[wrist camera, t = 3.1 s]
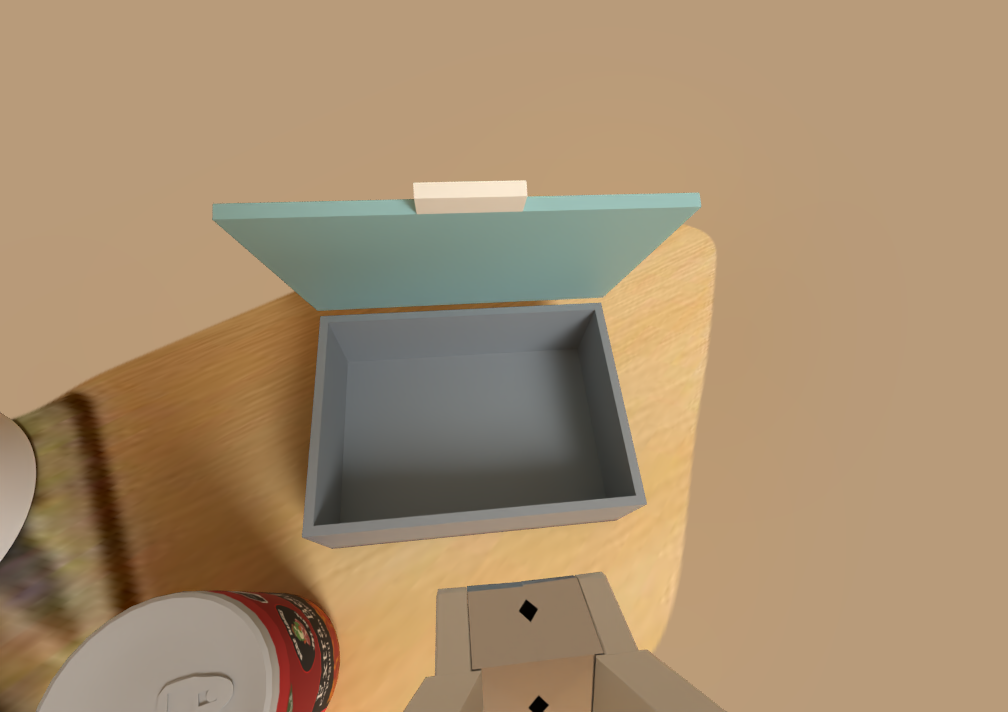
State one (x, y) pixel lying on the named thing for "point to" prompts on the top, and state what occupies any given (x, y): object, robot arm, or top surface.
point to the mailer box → (466, 425)
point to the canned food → (203, 657)
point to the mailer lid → (455, 244)
